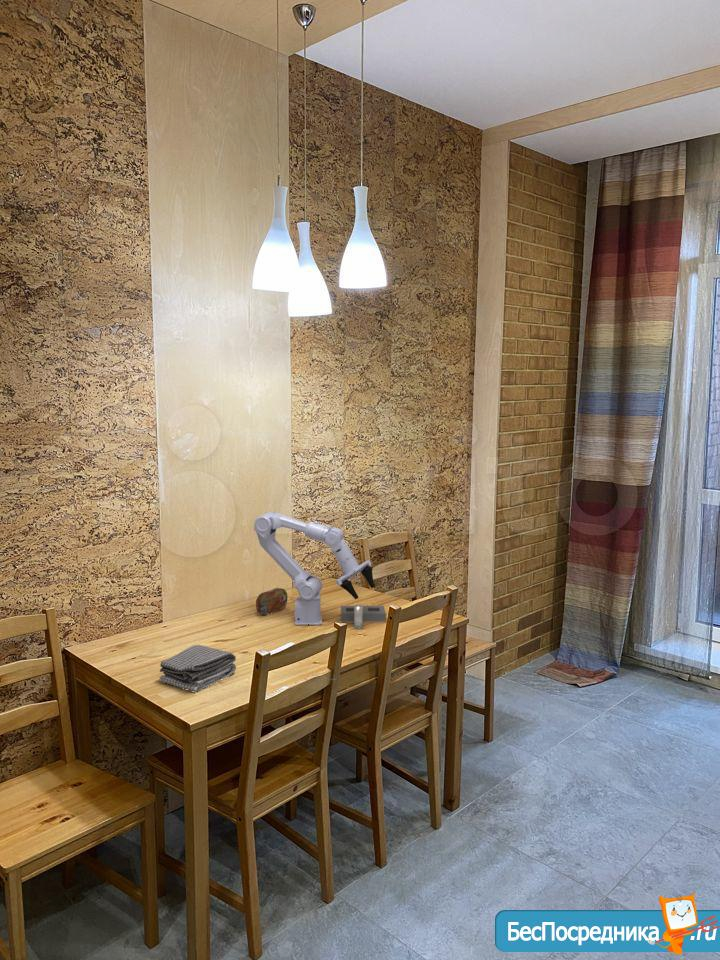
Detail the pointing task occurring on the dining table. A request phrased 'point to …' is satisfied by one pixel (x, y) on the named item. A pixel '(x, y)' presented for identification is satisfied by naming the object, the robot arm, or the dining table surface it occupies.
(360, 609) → the pin
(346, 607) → the hole block
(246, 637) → the dining table surface
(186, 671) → the towel
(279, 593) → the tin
